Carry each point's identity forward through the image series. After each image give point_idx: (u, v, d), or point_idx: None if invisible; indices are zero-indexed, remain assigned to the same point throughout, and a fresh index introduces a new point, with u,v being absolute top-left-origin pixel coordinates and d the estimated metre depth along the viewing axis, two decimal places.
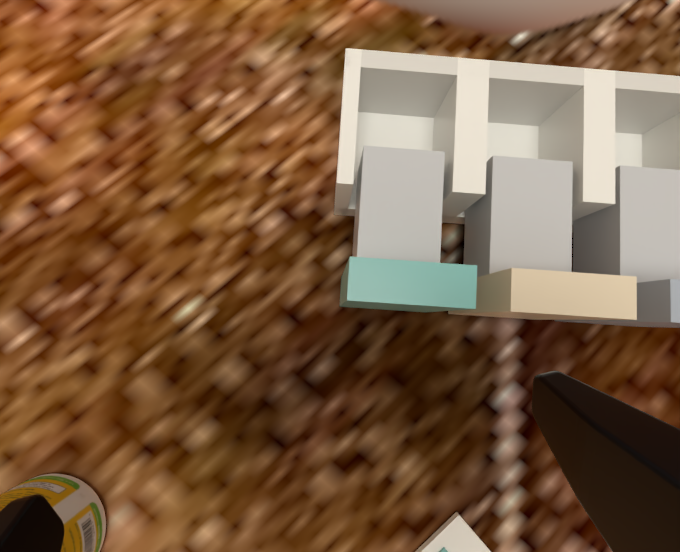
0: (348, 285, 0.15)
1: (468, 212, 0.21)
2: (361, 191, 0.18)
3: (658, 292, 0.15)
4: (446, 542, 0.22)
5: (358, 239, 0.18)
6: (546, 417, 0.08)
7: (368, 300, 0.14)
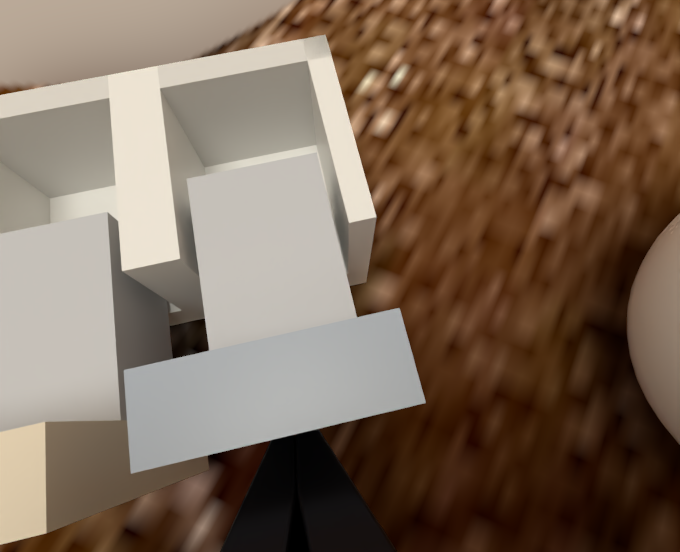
0: None
1: None
2: None
3: None
4: None
5: None
6: None
7: None
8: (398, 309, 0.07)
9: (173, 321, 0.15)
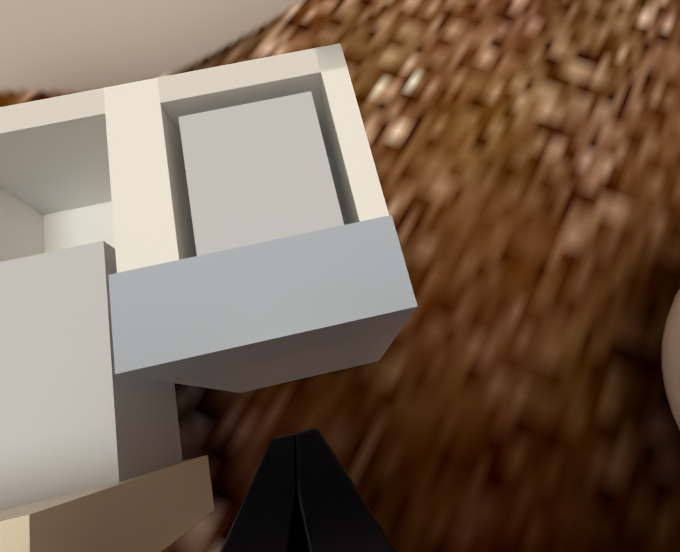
0: None
1: None
2: None
3: None
4: None
5: None
6: None
7: None
8: (390, 216, 0.07)
9: None
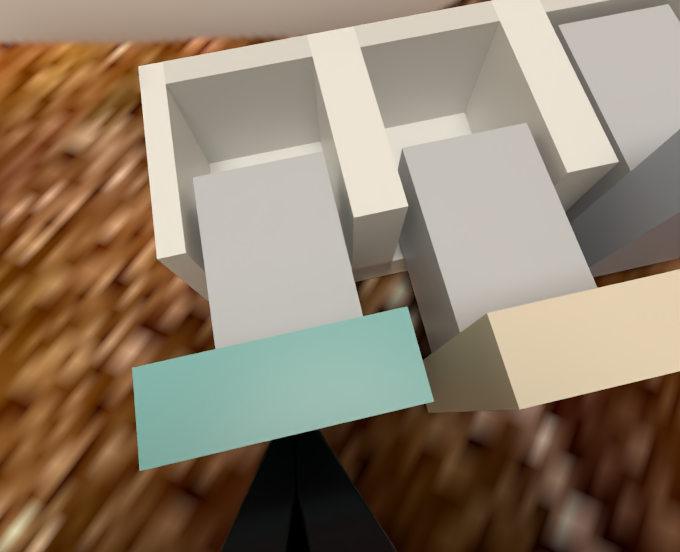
0: (142, 433, 0.06)
1: (405, 249, 0.14)
2: (204, 246, 0.11)
3: None
4: None
5: (214, 326, 0.10)
6: None
7: (188, 456, 0.06)
8: None
9: None
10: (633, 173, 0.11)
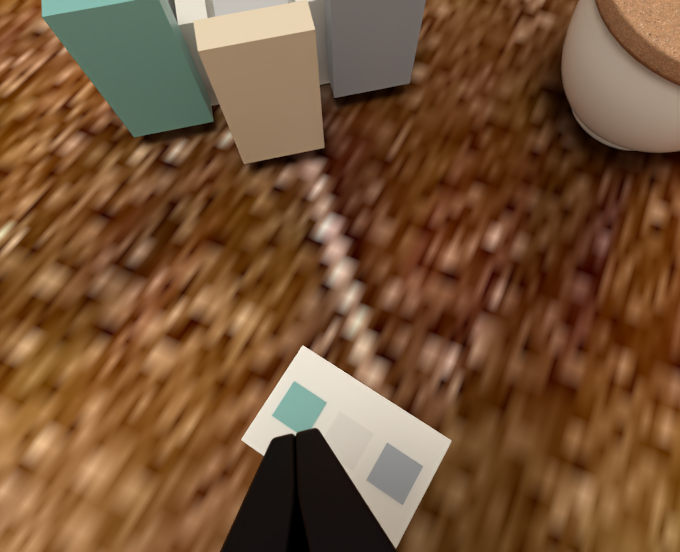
0: (44, 9, 0.17)
1: None
2: None
3: None
4: (295, 376, 0.20)
5: None
6: None
7: (60, 11, 0.16)
8: None
9: None
10: (324, 0, 0.20)
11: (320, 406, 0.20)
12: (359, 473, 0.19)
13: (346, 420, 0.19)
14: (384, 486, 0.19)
